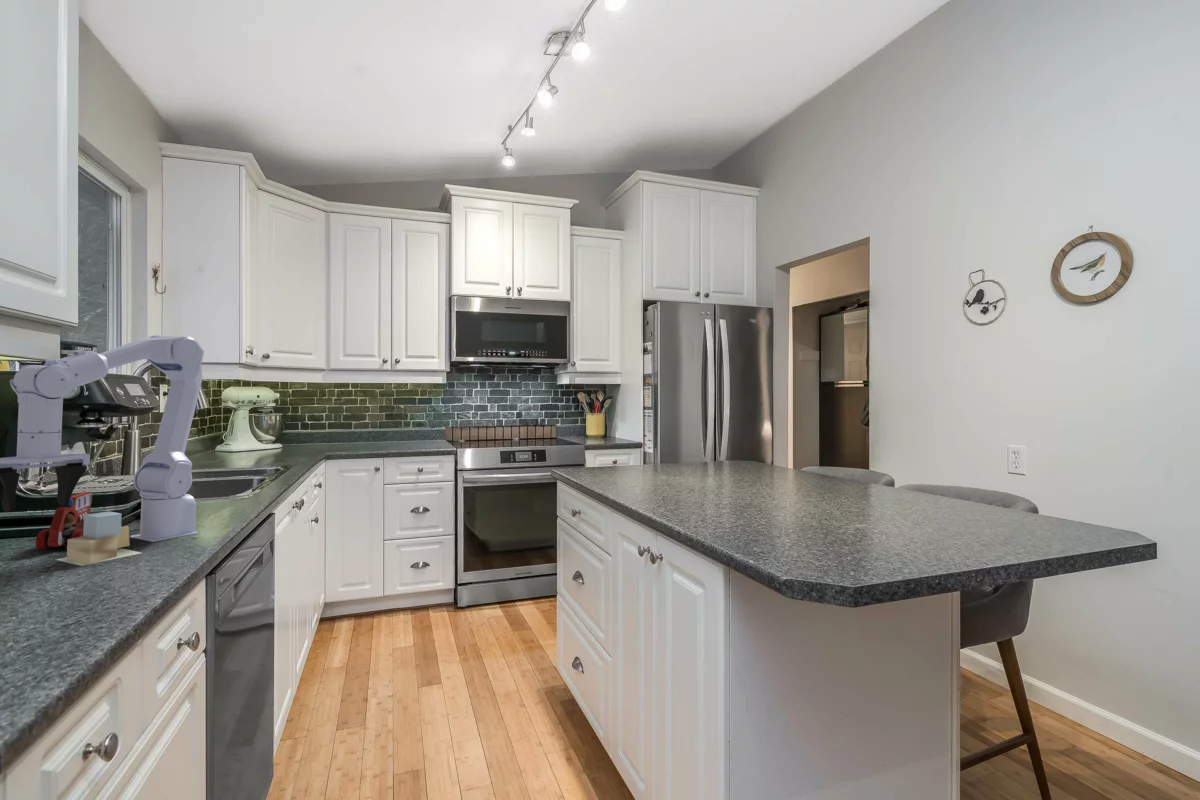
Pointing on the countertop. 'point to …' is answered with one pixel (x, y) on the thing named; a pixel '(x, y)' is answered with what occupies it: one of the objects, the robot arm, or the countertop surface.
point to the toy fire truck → (66, 522)
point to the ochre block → (123, 537)
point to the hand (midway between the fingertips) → (36, 507)
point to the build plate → (120, 554)
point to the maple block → (91, 549)
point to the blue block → (102, 524)
